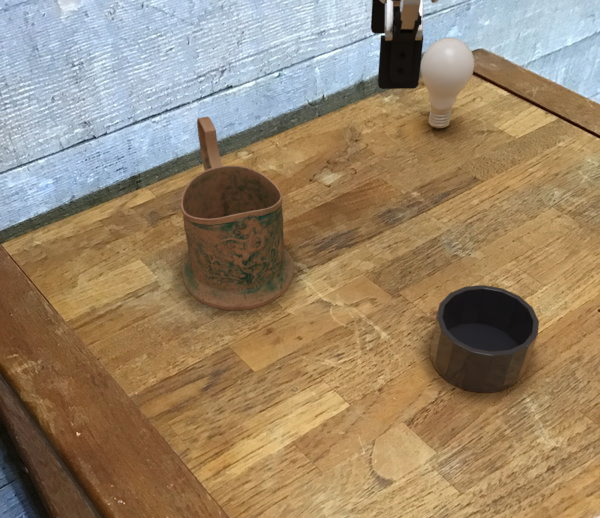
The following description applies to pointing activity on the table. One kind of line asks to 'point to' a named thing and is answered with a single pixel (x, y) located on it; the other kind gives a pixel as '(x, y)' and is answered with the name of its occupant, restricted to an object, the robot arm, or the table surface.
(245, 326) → the table surface
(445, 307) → the stand
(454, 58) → the lightbulb
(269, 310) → the table surface
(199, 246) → the mug
